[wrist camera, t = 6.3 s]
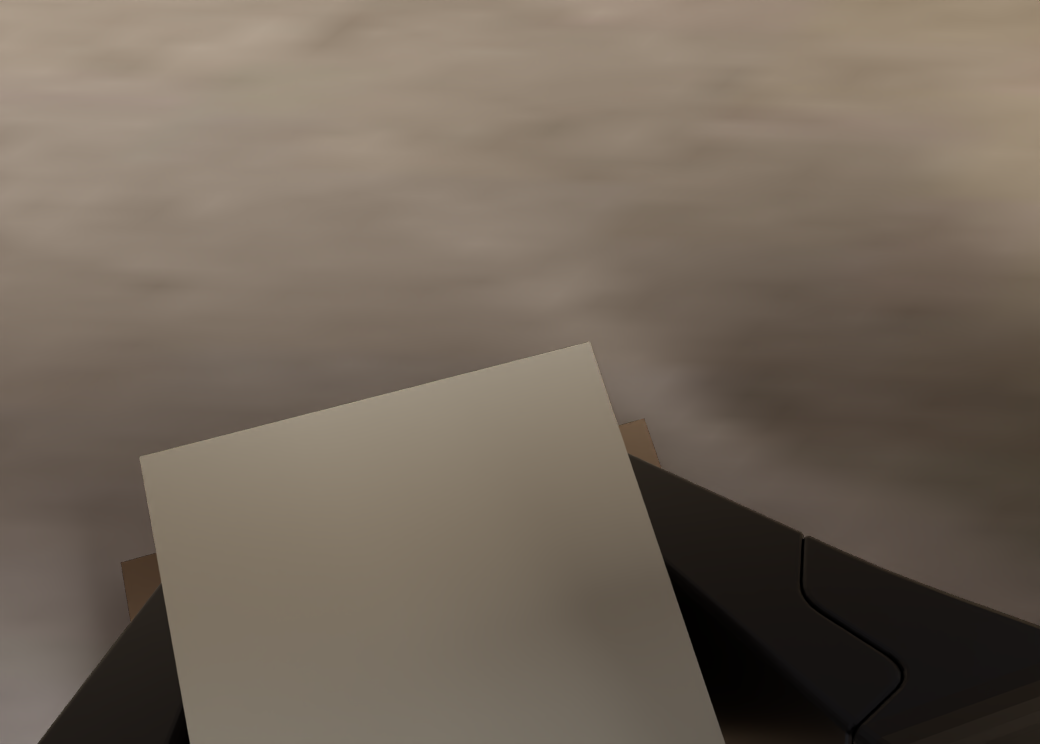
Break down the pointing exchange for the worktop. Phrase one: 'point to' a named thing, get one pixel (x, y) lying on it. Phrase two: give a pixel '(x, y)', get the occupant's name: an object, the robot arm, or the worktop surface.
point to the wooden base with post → (425, 572)
